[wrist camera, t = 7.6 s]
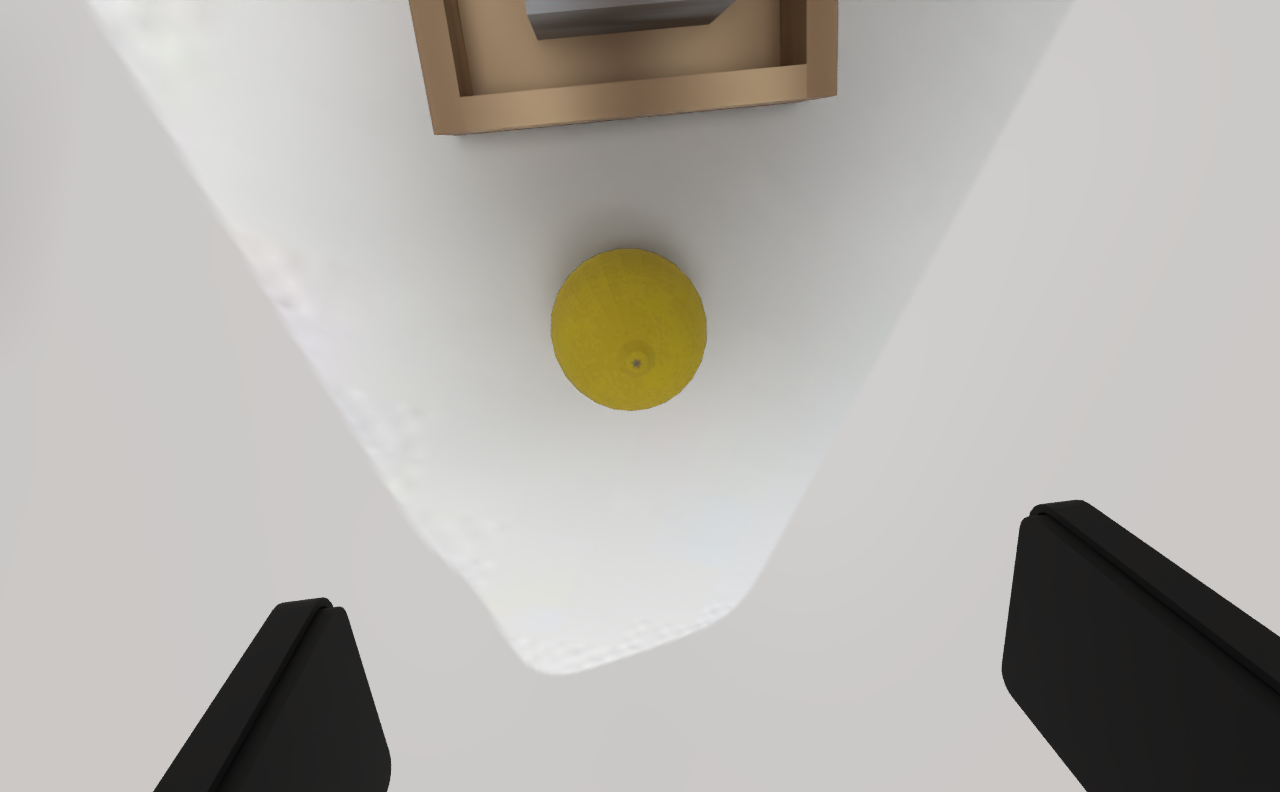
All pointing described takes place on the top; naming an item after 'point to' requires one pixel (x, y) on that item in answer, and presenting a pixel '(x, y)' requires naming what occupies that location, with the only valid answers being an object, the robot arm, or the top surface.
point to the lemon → (628, 329)
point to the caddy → (617, 58)
